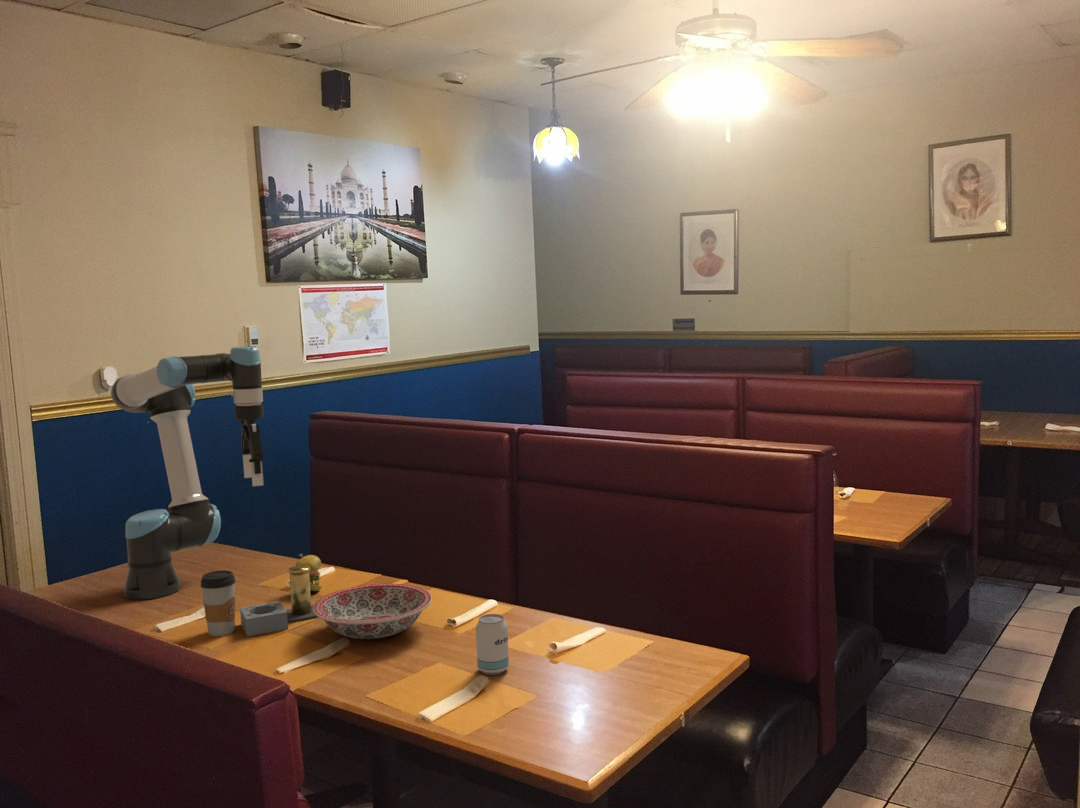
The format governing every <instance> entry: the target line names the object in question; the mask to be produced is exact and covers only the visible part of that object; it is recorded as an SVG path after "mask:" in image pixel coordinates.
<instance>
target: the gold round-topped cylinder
mask: <svg viewBox="0 0 1080 808" xmlns="http://www.w3.org/2000/svg"><path fill="white" fill-rule="evenodd" d="M287 570H288V572H287V573H288V574H289V582H290V585H289V586H290V598H291V600H290V603H291V604H290V605H291V609H292V614H293V615H305V614H308V613H310V612H311V605H312V601H311V600H312V597H311V591H310V584H311V583H310V578H309V571H310V566H307V565H298V566H295V565H293V566H290V567H289V568H288V569H287Z"/></svg>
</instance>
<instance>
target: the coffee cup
mask: <svg viewBox="0 0 1080 808" xmlns="http://www.w3.org/2000/svg"><path fill="white" fill-rule="evenodd" d="M236 582H237V581H236V577H235V575H234V573H233V571H231V570H227V569H225V570H214V571H210V572H207V573H205V574H203V575H202V576H201V580H200V587H201V591H202V599H203V601H202V602H203V608H204V609H203V610H204V614H205V621H206V627H207V632H208V634H209V636H212V637H223V636H227V635H231V634H232V633H233V632H234V630H235V628H236V593H235V592H236V587H235V586H236Z"/></svg>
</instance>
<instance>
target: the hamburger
mask: <svg viewBox="0 0 1080 808" xmlns="http://www.w3.org/2000/svg"><path fill="white" fill-rule="evenodd" d="M299 556H300V557H301V558H300V559H299V560H298V561H297V562H296V563H295V565H294V566H298V565H307V566H310V571H309V578H310V592H319V591H321V589H322V585H320V579H321V577H320V576H321V572H320V571H319V570H320V568H321V566H322V561H321V559H320V557H319V556H316V555H315V554H314V555H313V554H307V555H305V556H303V553H300V554H299ZM314 582H315V583H314Z"/></svg>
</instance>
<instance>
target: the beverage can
mask: <svg viewBox="0 0 1080 808" xmlns="http://www.w3.org/2000/svg"><path fill="white" fill-rule="evenodd" d="M508 631H509V629H508V623H507V622H506V620H505V617H504V615H502V614H499V613H488V614H483V615H481V616H480V617H478V621H477V624H476V625H475V632H476V634H475V635H476V637H475V638H476V660H477V661H476V663H477V669H478V670H479V671H480V672H482V673H483V674H485V675H488V676H497V675H500V674H502V673H504V672H505V671H506V670H507V669H508V668H509V666H510V665H509V663H510V659H509V634H508V633H509V632H508Z"/></svg>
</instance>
